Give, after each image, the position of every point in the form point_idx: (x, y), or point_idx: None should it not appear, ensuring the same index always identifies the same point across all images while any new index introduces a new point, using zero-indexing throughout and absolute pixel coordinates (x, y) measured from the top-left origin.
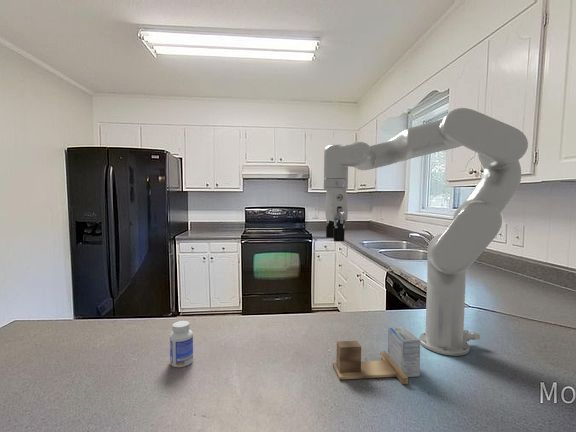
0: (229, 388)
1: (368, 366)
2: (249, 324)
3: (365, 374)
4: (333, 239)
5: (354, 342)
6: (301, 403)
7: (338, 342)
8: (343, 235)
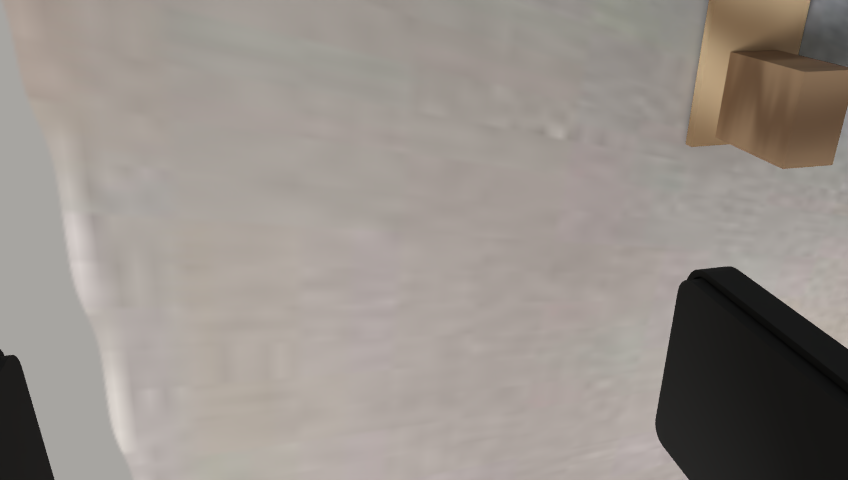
0: None
1: (752, 1)
2: (259, 473)
3: (796, 36)
4: (675, 454)
5: (815, 90)
6: (828, 264)
7: (793, 163)
8: (804, 338)
